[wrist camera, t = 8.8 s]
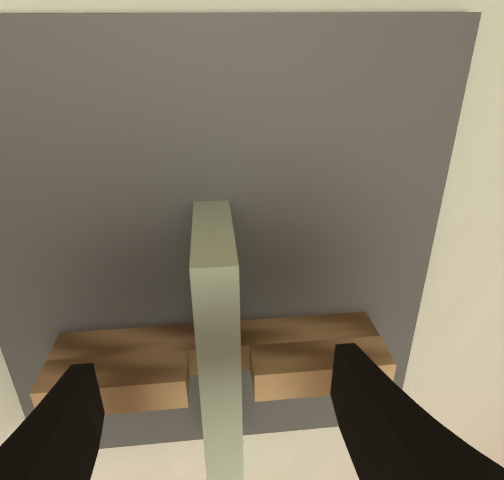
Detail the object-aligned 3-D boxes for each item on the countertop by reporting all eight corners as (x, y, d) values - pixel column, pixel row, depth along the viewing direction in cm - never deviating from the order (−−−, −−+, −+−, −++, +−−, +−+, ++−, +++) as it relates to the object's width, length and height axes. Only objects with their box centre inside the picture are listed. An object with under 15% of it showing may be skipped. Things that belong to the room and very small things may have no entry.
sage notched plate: (235, 418, 25) (244, 522, 20) (209, 420, 25) (210, 526, 20) (229, 200, 19) (239, 265, 13) (193, 201, 19) (189, 268, 13)
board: (44, 439, 26) (38, 454, 25) (-99, 15, 15) (-118, 13, 14) (389, 408, 28) (395, 421, 27) (467, 13, 17) (481, 12, 16)
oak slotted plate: (65, 357, 22) (38, 420, 18) (59, 332, 21) (29, 393, 17) (362, 335, 23) (391, 390, 20) (366, 311, 22) (396, 364, 19)
